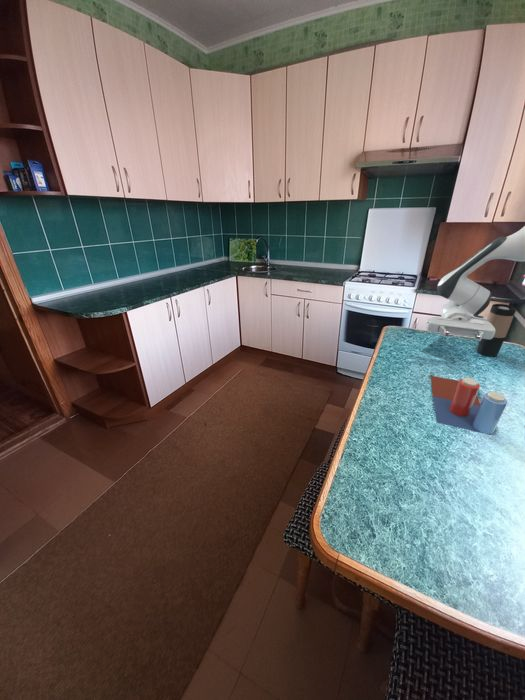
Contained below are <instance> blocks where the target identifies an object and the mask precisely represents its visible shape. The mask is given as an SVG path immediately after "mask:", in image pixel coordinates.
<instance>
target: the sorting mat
mask: <svg viewBox="0 0 525 700" xmlns="http://www.w3.org/2000/svg"><path fill="white" fill-rule="evenodd" d="M458 382H459V380H457V379H451V378H446V377H441V376H437V375H436V376H435V375H430V384H431V391H432V397H433V398H432V399H433V405H434V406H433V407H434V414H435V421H436V423H437V424H442V425H446V426H450V427H455V428H458V429H463V430H467V431H472V432H475V433H481V434H485V433H482V432H479V431H477V430H476V429H475V428H474V427H473V426H472V423H473V421H474V418H475V416H476V413H477V411H478V408H479V406H480V403H481V401H480V400H479V399H480V398H479V397H478V394H477V395H476V398H475V400H474V403H473V406H472V408H471V411H470V413H469V415H468V416H466V417H461V416H457V415H455V414H453V413H452V412H451V411H450V409H449V408H450V405H451V402H452V399H453V397H454V394H455V391H456V388H457V385H458ZM485 435H486V434H485ZM487 435H489V436H492V434H487Z"/></svg>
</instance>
